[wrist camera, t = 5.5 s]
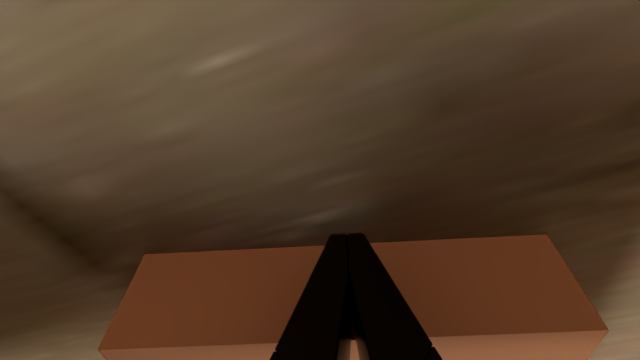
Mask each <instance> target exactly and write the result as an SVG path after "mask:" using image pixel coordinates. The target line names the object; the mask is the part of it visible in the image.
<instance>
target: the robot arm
mask: <svg viewBox="0 0 640 360" xmlns="http://www.w3.org/2000/svg"><path fill="white" fill-rule="evenodd" d="M352 320H353V326H354V332H355V338H356V343H357V349H358V354H359V359H360V360H443V359H442V358H441V356H440V355H439V353H438V351H437V350H436V348H435V347H432V345H433V344H432V342H431V340H430V339H429V337H428V336H427V334H426V332H425V331H424V329H423V328H422V326H421V324H420V323H419V321H418V320H417V318H416V316H415V315H414V313H413V312H412V310H411V308H410V307H409V305H408V304H407V302H406V300H405V299H404V297H403V296H402V294H401V292H400V291H399V289H398V288H397V286H396V284H395V283H394V281H393V279H392V278H391V276H390V275H389V273H388V271H387V270H386V268H385V267H384V265H383V263H382V262H381V260H380V259H379V257H378V255H377V254H376V252H375V251H374V249H373V247H372V246H371V244H370V243H369V241H368V239H367V238H366V236H365V235H364V234H363V233H362V232H358V233H348V234H347V235H346V234H345V233H339V234H331V235H330V236H329V238H328V240H327V242H326V245H325V247H324V249H323V251H322V253H321V255H320V257H319V259H318V261H317V263H316V265H315V267H314V269H313V271H312V273H311V275H310V278H309V280H308V282H307V284H306V286H305V288H304V290H303V292H302V294H301V296H300V298H299V300H298V302H297V304H296V306H295V308H294V311H293V313H292V315H291V317H290V319H289V321H288V323H287V325H286V327H285V329H284V331H283V333H282V335H281V337H280V339H279V341H278V344H277V346H276V348H275V351H276V352H273V353H272V356H271V358H270V360H350V349H351V333H352Z"/></svg>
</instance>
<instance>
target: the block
mask: <svg viewBox="0 0 640 360" xmlns="http://www.w3.org/2000/svg"><path fill="white" fill-rule="evenodd" d="M370 244H371V246H372V247H373V249H374V251H375V252H376V254H377V255H378V257H379V259H380V260H381V262H382V263H383V265H384V267H385V268H386V270H387V271H388V273H389V275H390V276H391V278H392V279H393V281H394V283H395V284H396V286H397V288H398V289H399V291H400V292H401V294H402V296H403V297H404V299H405V300H406V302H407V304H408V305H409V307H410V308H411V310H412V312H413V313H414V315H415V316H416V318H417V320H418V321H419V323H420V324H421V326H422V328H423V329H424V331H425V332H426V334H427V336H428V337H429V339H430V340H431V342H432V344H433V345H432V347H435V348H436V350H437V351H438V353H439V355H440V356H441V358H442V359H443V360H587V359H588V358H589V356H590V355H591V354H592V352H593V351H594V350H595V348H596V347H597V346H598V344H599V343H600V342H601V340H602V339H603V338H604V336H605V335H606V333H607V332H608V331H609V330H608V328H607V327H606V325H605V323H604V322H603V320H602V319H601V317H600V316H599V314H598V313H597V311H596V310H595V308H594V307H593V305H592V303H591V302H590V300H589V299H588V297H587V296H586V294H585V293H584V291H583V290H582V288H581V286H580V285H579V283H578V282H577V280H576V279H575V277H574V276H573V274H572V273H571V271H570V269H569V268H568V266H567V265H566V263H565V262H564V260H563V259H562V257H561V256H560V254H559V252H558V251H557V249H556V248H555V246H554V245H553V243H552V242H551V240H550V239H549V237H548V235H547V234H543V235H523V236H503V237H483V238H462V239H442V240H422V241H402V242H382V243H370ZM324 247H325V245H322V246H302V247H281V248H261V249H241V250H221V251H201V252H181V253H161V254H144V256H143V258H142V260H141V263H140V265H139V267H138V269H137V271H136V273H135V275H134V277H133V279H132V281H131V283H130V285H129V287H128V289H127V291H126V293H125V295H124V297H123V299H122V301H121V303H120V305H119V307H118V309H117V311H116V313H115V315H114V317H113V320H112V322H111V324H110V326H109V328H108V330H107V332H106V334H105V336H104V338H103V340H102V342H101V344H100V346H99V348H98V351H99V352H100V353H101V354H102V355H103V357H104V358H105V359H106V360H270V358H271V356H272V353H273V352H276V351H275V348H276V346H277V344H278V341H279V339H280V337H281V335H282V333H283V331H284V329H285V327H286V325H287V323H288V321H289V319H290V317H291V315H292V313H293V311H294V308H295V306H296V304H297V302H298V300H299V298H300V296H301V294H302V292H303V290H304V288H305V286H306V284H307V282H308V280H309V278H310V275H311V273H312V271H313V269H314V267H315V265H316V263H317V261H318V259H319V257H320V255H321V253H322V251H323V249H324ZM350 360H360V359H359V354H358V349H357V343H356V338H355V332H354V326H353V320H352V333H351V349H350Z"/></svg>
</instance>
